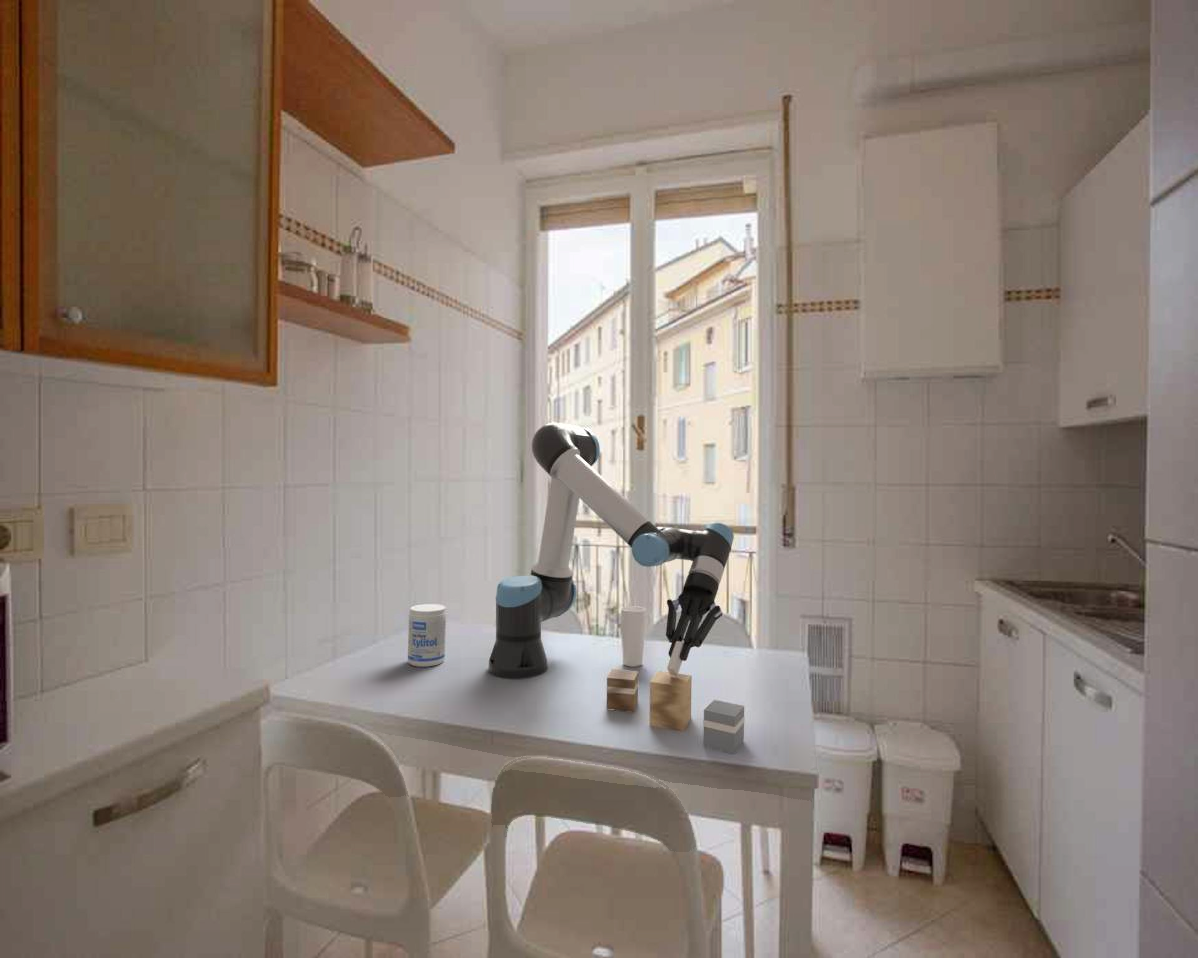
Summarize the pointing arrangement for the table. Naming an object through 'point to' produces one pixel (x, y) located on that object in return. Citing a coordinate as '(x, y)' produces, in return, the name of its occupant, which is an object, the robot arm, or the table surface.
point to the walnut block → (622, 690)
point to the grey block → (723, 726)
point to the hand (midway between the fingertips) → (672, 672)
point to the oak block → (670, 700)
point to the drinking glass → (633, 634)
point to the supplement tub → (426, 635)
